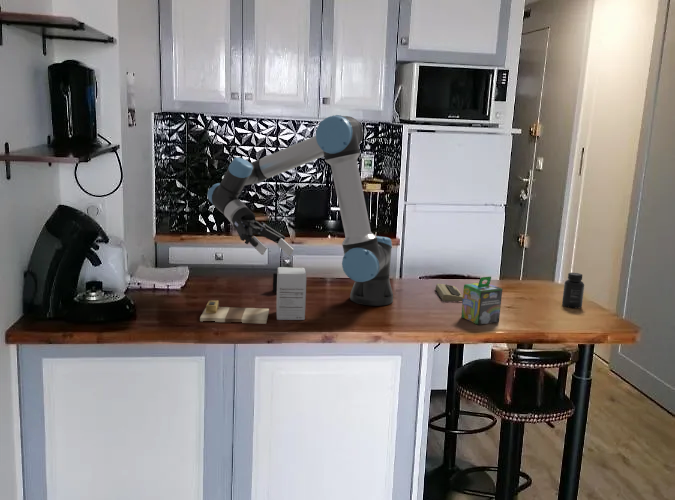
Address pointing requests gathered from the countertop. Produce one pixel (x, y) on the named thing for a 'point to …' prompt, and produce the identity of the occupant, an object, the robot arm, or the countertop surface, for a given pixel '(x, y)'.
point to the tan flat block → (448, 292)
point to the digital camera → (275, 282)
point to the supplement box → (291, 293)
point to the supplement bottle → (573, 291)
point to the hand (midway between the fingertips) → (278, 252)
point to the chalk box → (481, 302)
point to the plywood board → (233, 314)
